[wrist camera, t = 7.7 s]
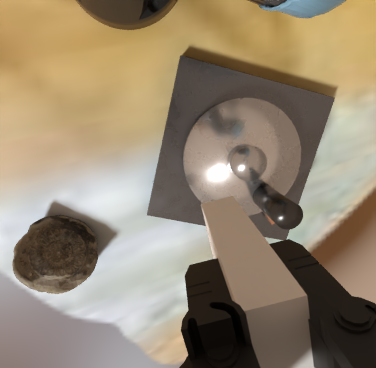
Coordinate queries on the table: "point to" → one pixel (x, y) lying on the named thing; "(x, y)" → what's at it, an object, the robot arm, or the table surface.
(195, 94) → the clock base
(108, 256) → the table surface
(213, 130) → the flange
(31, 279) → the fossil
